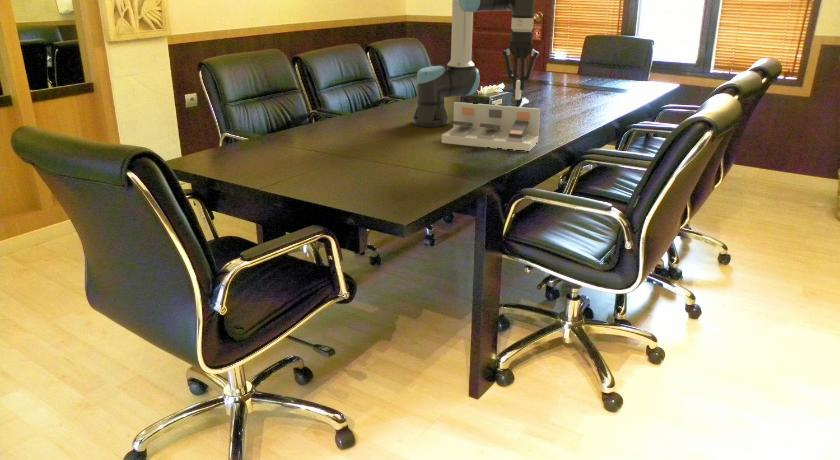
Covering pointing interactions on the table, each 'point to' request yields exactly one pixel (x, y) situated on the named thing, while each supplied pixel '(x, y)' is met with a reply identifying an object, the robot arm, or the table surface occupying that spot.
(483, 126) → the switch
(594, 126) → the table surface
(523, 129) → the switch
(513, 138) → the switch unit
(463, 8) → the robot arm
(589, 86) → the table surface
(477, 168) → the table surface
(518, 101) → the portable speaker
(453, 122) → the switch
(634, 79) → the table surface
